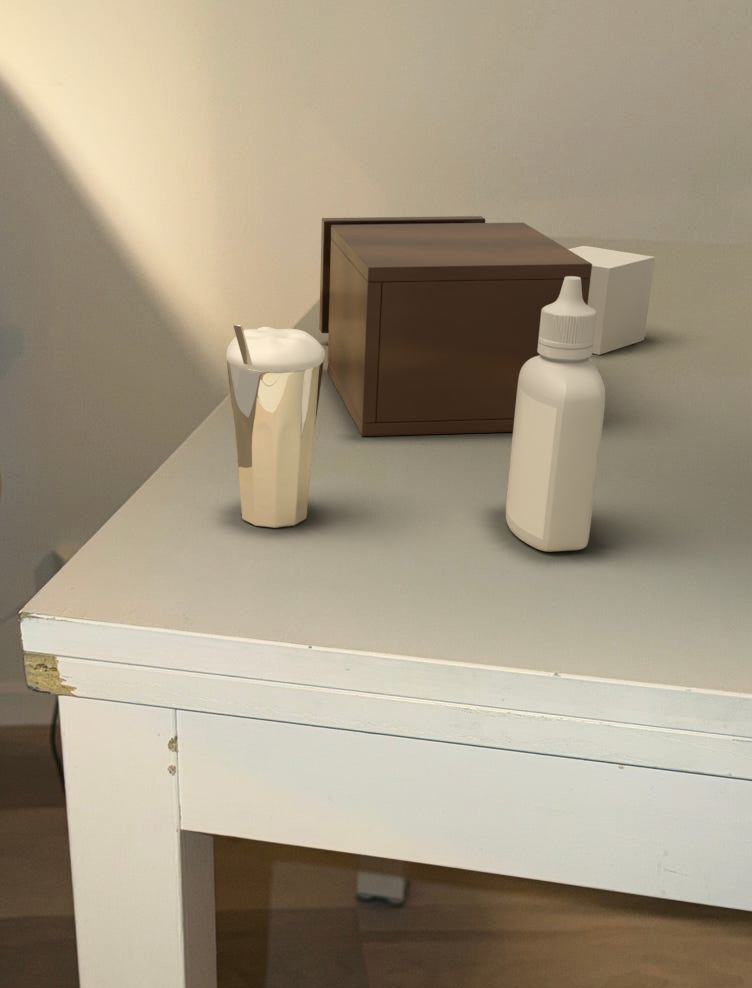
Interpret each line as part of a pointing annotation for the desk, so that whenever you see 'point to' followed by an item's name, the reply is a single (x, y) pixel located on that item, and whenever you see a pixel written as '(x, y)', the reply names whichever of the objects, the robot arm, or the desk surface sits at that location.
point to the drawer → (365, 221)
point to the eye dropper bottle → (557, 429)
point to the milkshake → (274, 420)
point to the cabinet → (439, 321)
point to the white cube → (618, 295)
